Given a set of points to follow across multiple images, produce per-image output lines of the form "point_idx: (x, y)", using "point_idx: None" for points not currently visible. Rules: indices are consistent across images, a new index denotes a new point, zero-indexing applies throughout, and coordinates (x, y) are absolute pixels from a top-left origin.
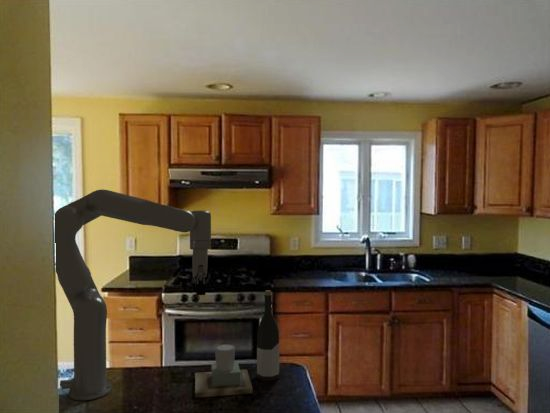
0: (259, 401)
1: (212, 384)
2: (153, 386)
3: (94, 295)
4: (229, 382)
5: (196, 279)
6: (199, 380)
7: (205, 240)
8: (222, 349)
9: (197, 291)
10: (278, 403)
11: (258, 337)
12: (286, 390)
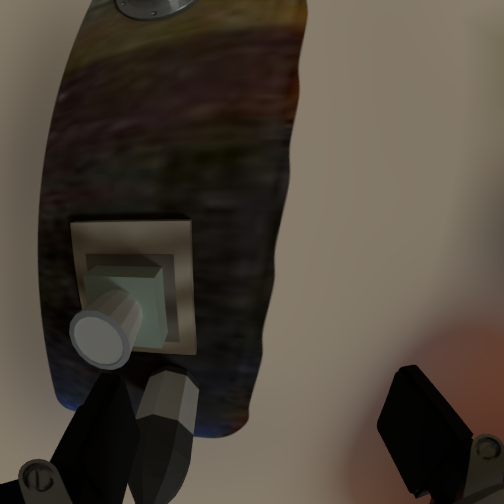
0: (65, 344)
1: (96, 266)
2: (152, 109)
3: None
4: None
5: (455, 437)
6: (134, 233)
7: None
8: (81, 331)
9: (94, 404)
10: (62, 369)
11: (141, 436)
12: None
